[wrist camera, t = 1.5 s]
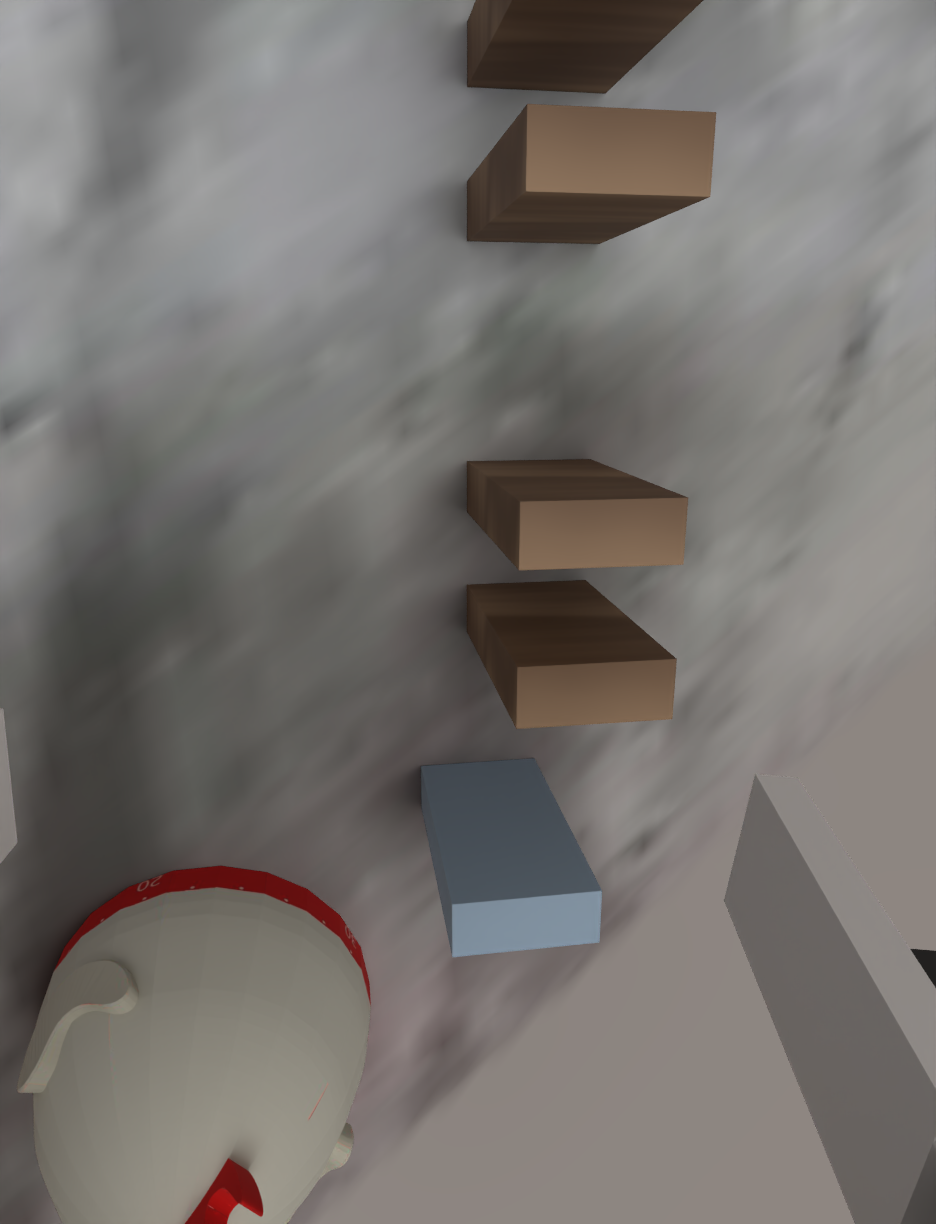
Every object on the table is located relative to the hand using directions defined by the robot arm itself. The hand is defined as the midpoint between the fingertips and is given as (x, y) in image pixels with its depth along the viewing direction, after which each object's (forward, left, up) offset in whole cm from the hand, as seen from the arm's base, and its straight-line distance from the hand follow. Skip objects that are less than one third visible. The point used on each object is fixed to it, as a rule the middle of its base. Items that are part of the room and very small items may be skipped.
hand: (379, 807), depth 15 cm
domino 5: (-10, -5, -20) cm, 23 cm away
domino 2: (+13, -7, -20) cm, 25 cm away
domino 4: (-2, -7, -20) cm, 22 cm away
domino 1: (+18, -7, -20) cm, 28 cm away
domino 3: (+3, -7, -20) cm, 22 cm away
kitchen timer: (-20, +7, -20) cm, 30 cm away
